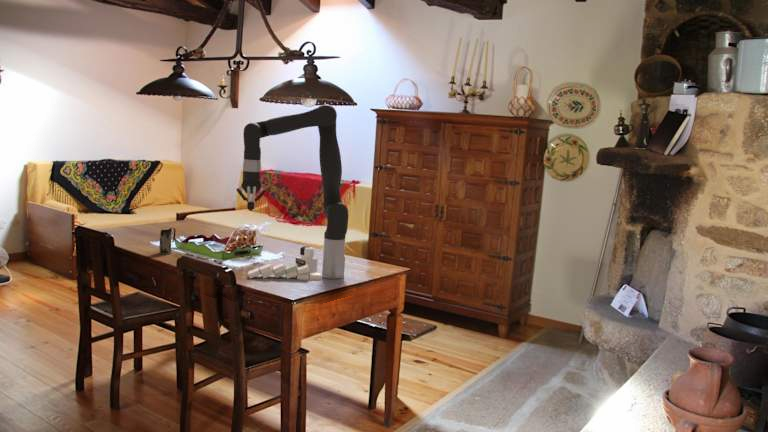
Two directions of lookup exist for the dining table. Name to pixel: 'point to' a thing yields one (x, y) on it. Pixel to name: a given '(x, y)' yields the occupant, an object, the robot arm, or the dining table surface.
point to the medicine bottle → (307, 259)
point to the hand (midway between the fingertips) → (250, 210)
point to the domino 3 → (287, 270)
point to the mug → (166, 241)
